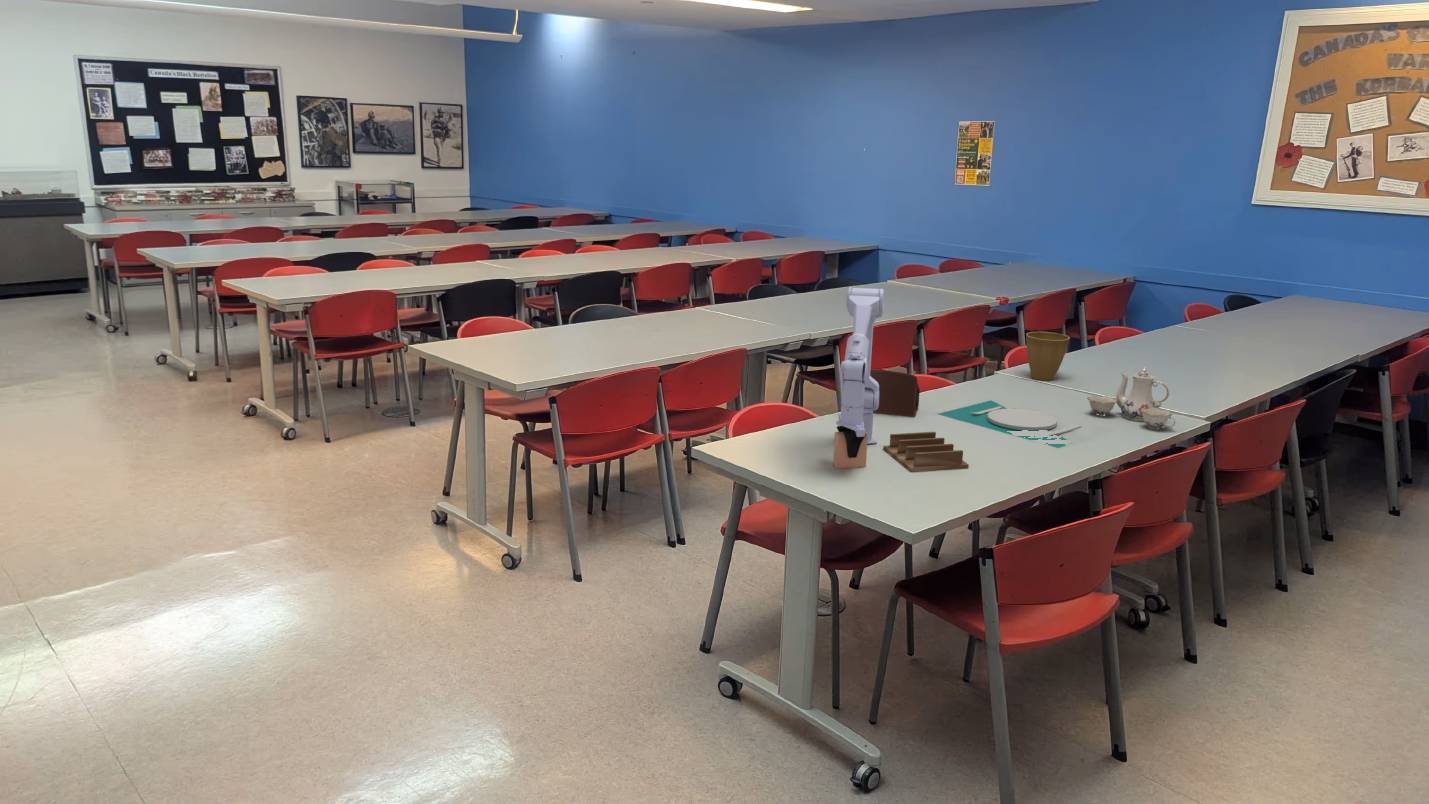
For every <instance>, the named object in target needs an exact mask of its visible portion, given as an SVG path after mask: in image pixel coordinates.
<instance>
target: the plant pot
mask: <svg viewBox="0 0 1429 804" xmlns="http://www.w3.org/2000/svg"><path fill="white" fill-rule="evenodd" d="M1025 335H1026V336H1025V338H1026V340H1025V341H1026V352H1027V360H1028V366H1029V370H1030V374H1031V377H1032V378H1033V379H1035V380H1036V381H1037V380H1038V381H1044V382H1045V381H1049V382H1050V381H1053V380H1054V379H1055V378H1056V376H1057V373H1058V371H1059V369H1060V366H1061V365H1062V364H1063V363H1062V362H1063V361H1064V360H1063V359H1064V358H1065V355H1066V352H1067V349H1068V345H1069V342H1070V339H1071V337H1070V336H1069V335H1066V334H1061V333H1058V332H1051V331H1050V332H1048V331H1030V332H1026V333H1025Z"/></svg>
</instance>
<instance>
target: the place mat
mask: <svg viewBox="0 0 1429 804" xmlns="http://www.w3.org/2000/svg"><path fill="white" fill-rule="evenodd" d="M938 415H940V416H943V417H946V418H950V419H953V420H958V421H960V422H964V423H968V424H970V425H974V426H977V427H978V426H979V427H982V428H985V429H989V430H993V431H997V432H999V433H1004V434H1007V435H1009V436H1010V435H1011V434H1012V433H1010V432H1007V431H1022V430H1028V431H1039V430H1052V429H1054V428H1056V427H1057V425H1058V419H1056V417H1055V416H1052V415H1050V414H1048V413H1044V412H1042V411H1036V410H1031V409H1023V408H1007V407H1005V406H1004V405H1001V404H999V402H998V403H997V402H995V401H993V400H987V401H983V402H979V403H975V404H970V405H967V406H963V407H959V408H955V409H951V410H947V411H943V412H939V413H938ZM1022 422H1024V423H1022ZM1080 427H1081V428H1082V425H1080V424H1076V425H1072V426H1068V427H1065V428H1060V429H1059V430H1055V431H1054V432H1053V431H1052V432H1053V433H1051V434H1049V436H1053V435H1061V434H1065V433H1068V431H1069V432H1071V431H1075V430H1078V429H1080ZM1077 428H1078V429H1077ZM1074 429H1075V430H1074ZM1011 436H1012V435H1011ZM1016 437H1018V438H1020V439H1021V438H1022V439H1025V440H1028V441H1031V440H1038V439H1041V438H1028V437H1030V436H1016ZM1024 437H1025V438H1024ZM1034 437H1035V436H1034ZM1047 438H1048V437H1043V438H1042V440H1055V439H1057V438H1051V439H1047ZM1059 439H1061V440H1068V439H1067V438H1066V437H1063V436H1061V438H1059ZM1046 444H1048V443H1046ZM1046 444H1045V445H1046ZM1047 446H1050V447H1053V448H1058V449H1060V448H1063V447H1065V446H1067V445H1065V444H1048V445H1047Z"/></svg>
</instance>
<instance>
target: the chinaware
mask: <svg viewBox="0 0 1429 804" xmlns="http://www.w3.org/2000/svg"><path fill="white" fill-rule="evenodd" d="M1120 374H1121V375H1122V380H1121V382H1120V385H1119V386H1118V389H1117V392H1116V394H1115V399H1114V398H1113V397H1111V396H1108V395H1107V396H1106V395H1105V396H1102V397H1101V396H1099V395H1095V394H1094V395H1091V396H1090V397H1087V398H1086V399H1087V400H1088V401H1089V406H1090V408H1091V410H1092V411H1093V412H1094V413H1096V414H1099V415H1104V414H1106V415H1107V414H1108V413H1110V412H1111V411H1112V410H1113V409H1114V407H1115V405H1117V406H1118V408H1119V409H1120V411H1121V413H1122V414H1123V416H1124V417H1125V418H1124V417H1123V418H1124V419H1126V418H1127V420H1129V421H1133V420H1134V421H1133V422H1140V423H1141V422H1142V423H1143V422H1144V423H1145V424H1146V425H1147V429H1150V430H1157V431H1158V430H1160V429H1165V428H1166V427H1168V428H1172V427H1174V426H1175V424H1176V419H1175V418H1174V417H1172V416H1173V414H1172V413H1171V411H1170V410H1168V409H1159V408H1162V403H1163V402H1165V401H1167V399H1169V397H1170V388H1169V386H1168V385H1167V384H1166V383H1165V382H1162V381H1159V380H1155V379H1156V376H1154V375H1151V373H1150V372H1149V371H1148V370H1147V368H1146V367H1143V368H1142V369H1141V371H1140V370H1139V371H1138V372H1137V373H1133V374H1132V375H1131V376H1132V387H1131V390H1130V393H1129V395H1127V396H1126V389H1127V386H1128V382H1129V381H1128V380H1129V379H1128V375H1127V373H1125V372H1124V371H1120ZM1158 384H1160V385H1162V386H1164V388H1165V389H1166V395H1165V397H1164V398H1163V399H1161V400H1154V398H1153V392H1152V391H1153V390H1152V387H1155V388H1157V387H1158ZM1171 419H1172V420H1173V424H1172V425H1171V426H1170V425H1168V424H1167V425H1166V423H1167V422H1168V420H1171Z"/></svg>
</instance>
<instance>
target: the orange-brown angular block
mask: <svg viewBox="0 0 1429 804" xmlns="http://www.w3.org/2000/svg"><path fill="white" fill-rule="evenodd" d="M850 432H851V431H850ZM865 433H866V432H865ZM867 438H868V434H867V433H866V436H865V438H864V439H863V441H862V443H861V445H860V448H859V451H858V454H857V457H856V458H849V457H848V453H847V443H846V439H845V436H844V434H843V432H838V431H834V439H833V460H832V461H833V462H832V464H833V467H835V469H850V468H865V467H867V456H868V455H867V454H868V453H867V452H868V444H867Z"/></svg>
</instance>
